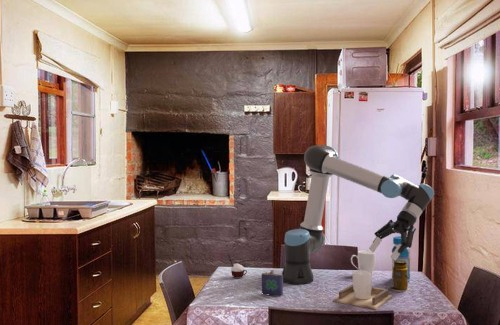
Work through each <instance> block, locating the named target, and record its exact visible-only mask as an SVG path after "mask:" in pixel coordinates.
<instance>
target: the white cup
mask: <svg viewBox="0 0 500 325" xmlns="http://www.w3.org/2000/svg"><path fill="white" fill-rule="evenodd" d="M351 275H352V284H353V289H354V297H355V298H358V299H369V298H371V288H372V287H373V286H372V284H373V283H372V282H373V272H369V271H364V270H358V269H357V270H353V271H352V274H351Z"/></svg>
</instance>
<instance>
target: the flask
mask: <svg viewBox="0 0 500 325" xmlns="http://www.w3.org/2000/svg"><path fill="white" fill-rule="evenodd" d="M274 271H275V270H274V269H270V272H269V271H268V272H267V271H266V272H262V274H261V294H262V293H263V294H269V295H284V282H283V275H282V273H274Z"/></svg>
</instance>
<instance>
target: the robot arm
mask: <svg viewBox="0 0 500 325" xmlns="http://www.w3.org/2000/svg"><path fill="white" fill-rule="evenodd" d="M303 160H304V164H305V165H306V166H307V167H308V168H309V173H310V174H311V178H310V182H309V183H310V184H309V190H308V195H307V196H308V197H307V202H306V208H305V212H304V213H305V214H304V218H303V219H304V220H303V221H302V222H301V223H300V224H299V225H300V226H299V228H294V229H291V230H288V231H286V232H285V234H284V239H283V240H284V241H283V242H284V266H283V270H282V273H281V274H282V275H283V281H284V282H283V283H286V282H287V284H290V283H291V285H306V284H310V283H313V282H314V279H315V278H314V274H313V270H312V268H311V264H310V261H311V259H310V255H311V254H313V253H316V252H317V251H319V250H320V249H321V248H322V247H323V246H324V244H325V234H324V233H323V232H324V227H323V226H322V220H323V216H324V210H325V209H324V208H325V203H326V197H327V192H328V186H329V180H330V178H331V177H332V176H336V177H338V178H340V179H341V178H342V179H343V180H346V181H349V182H352V183H354V184H357V185H360V186H361V187H365V188H367V189H370V190H373V191H375V192H377V193H379V194H382V196H384V197H386V198H389V199H394V198H398V197H401V198H403V199H405V200H406V201H407V202H406V203H405V205H404V206H403V208H402V209H401V211H400V212H399V213H398V215H397V216H396V220H395V221H394V220H392V219H390V220H389V221H388V222H387V223H386V224H384V225H383V226H382V227H380V228H379V229H378V230H377V231H375V232H374V235H375V238H374V240H373V241H372V243H371V245H370V246H369V248H368V250H370V251H372V252H373V253H374V252H376V250H377V248H378V247H379V246H380V244H381V243H382V240H383V239H385V238H386V237H388V236H390V235H392V234H399V235H400V236H401V244H402V245H401V244H399V245H398V246H397V248H396V249H395V251H394V252H393V254H392V253H391V255H390V258H391V257H392V258H393V259H394V260H395V261H396V259H397V258H398V257H399V255H400V254H401V253H402V252H403V251H404V249H405V248H407V247H408V248H409V249H411V248H412V245H413V240H414V234H415V232H416V230H417V229H416V228H415V226H414V225H415V224H416V222H417V220H418V219H419V218H420V216H421V215H422V214H423V212H424V211H425V209H426V208H427V206H428V205H429V203H431V201H432V199H433V198H434V195H435V191H434V189H433V188H432V186H430V185H428V184H425V183H420V184H419V185H416V184H414V183H413V182H411V181H408V180H407V179H405V178H404V177H402V176H401V175H397V174H396V173H393V174H392V175H390V177H389V176H386V175H383V174H380V173H378V172H375V171H372V170H370V169H367V168H364V167H362V166H359V165H356V164H354V163H351V162H348V161H345V160H344V159H340V158H339V153H338V151H337V150H336V149H335V148H334V147H333V146H330V145H312V146H309V147H308V148H307V149H306V151H305V152H304V155H303ZM392 258H391V259H392Z"/></svg>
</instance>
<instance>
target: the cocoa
mask: <svg viewBox="0 0 500 325" xmlns="http://www.w3.org/2000/svg"><path fill="white" fill-rule="evenodd" d="M226 254H227V256H228V260H229V262H230V265H231V272H230V273H231V276H232V277H233V276H234V277H242V276H243V275H244V276H246V274H247V272H248V270H247V269H245V266H243V265H242V264H240V263H234V264H233V262H232V258H231V256H230V254H229V252H227V253H226ZM244 276H243V277H244ZM234 277H233V278H234ZM243 277H242V278H243Z"/></svg>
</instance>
